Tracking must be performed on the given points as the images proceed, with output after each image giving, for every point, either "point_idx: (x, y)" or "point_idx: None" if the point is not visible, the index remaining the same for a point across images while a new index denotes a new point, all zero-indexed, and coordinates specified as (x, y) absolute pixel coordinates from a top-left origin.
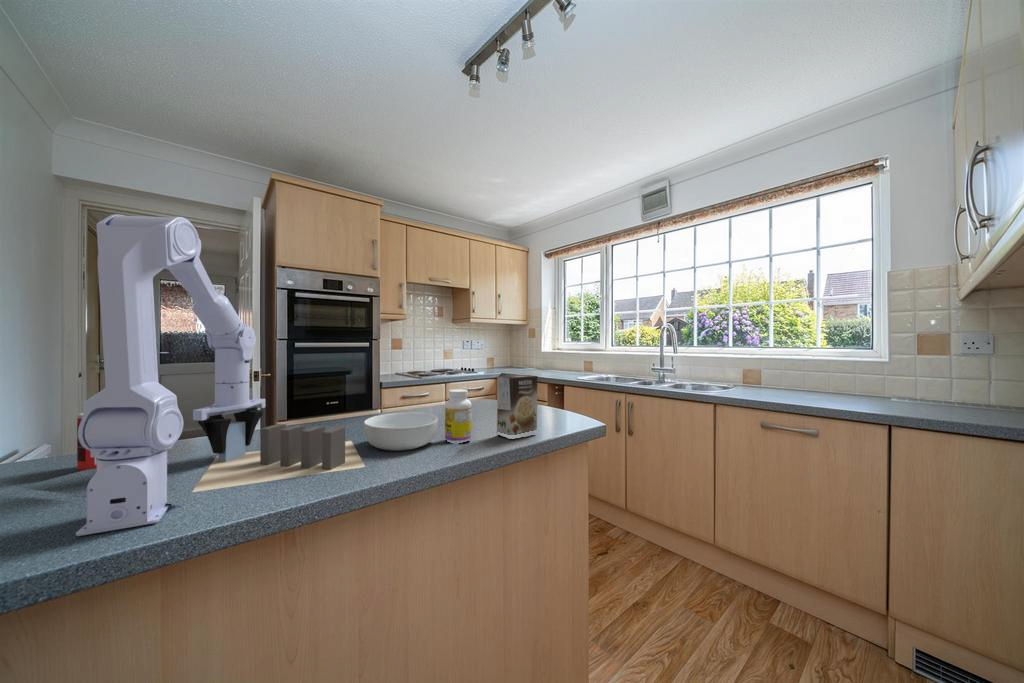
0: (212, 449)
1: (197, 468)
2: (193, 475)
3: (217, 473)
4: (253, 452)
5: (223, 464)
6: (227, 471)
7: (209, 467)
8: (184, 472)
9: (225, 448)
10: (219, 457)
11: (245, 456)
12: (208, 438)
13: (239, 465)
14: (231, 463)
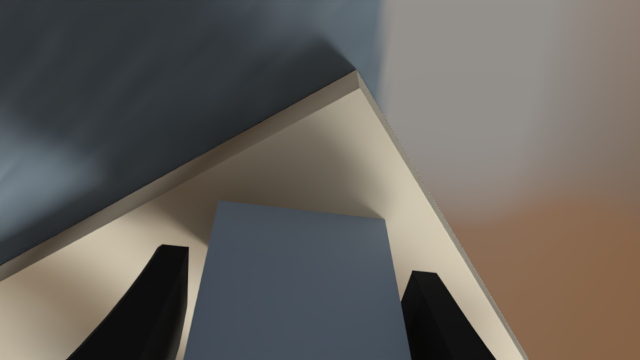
0: (145, 267)
1: (153, 71)
2: (27, 161)
3: (19, 337)
4: (440, 273)
5: None
6: (63, 356)
7: (85, 239)
8: (49, 51)
9: (178, 341)
10: (213, 227)
11: None
12: (89, 337)
13: None
14: (189, 298)
